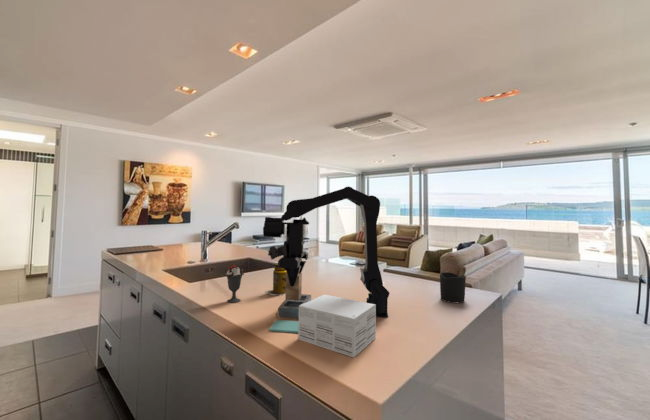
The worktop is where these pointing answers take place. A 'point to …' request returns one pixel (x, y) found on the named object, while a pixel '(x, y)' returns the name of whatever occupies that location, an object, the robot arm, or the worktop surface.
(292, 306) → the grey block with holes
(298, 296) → the peg
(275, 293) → the condiment
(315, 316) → the supplement box
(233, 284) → the sundae
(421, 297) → the worktop surface
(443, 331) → the worktop surface
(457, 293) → the pen holder
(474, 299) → the worktop surface
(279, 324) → the mat
